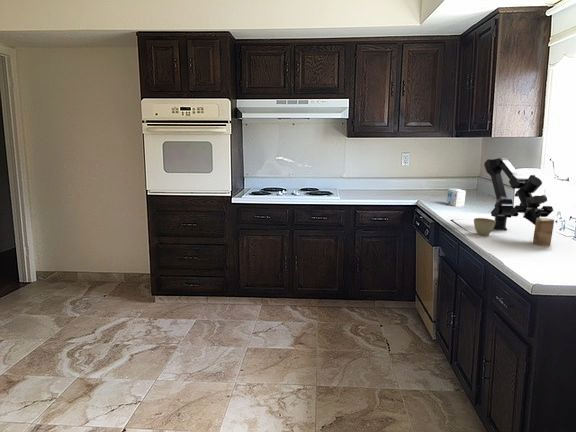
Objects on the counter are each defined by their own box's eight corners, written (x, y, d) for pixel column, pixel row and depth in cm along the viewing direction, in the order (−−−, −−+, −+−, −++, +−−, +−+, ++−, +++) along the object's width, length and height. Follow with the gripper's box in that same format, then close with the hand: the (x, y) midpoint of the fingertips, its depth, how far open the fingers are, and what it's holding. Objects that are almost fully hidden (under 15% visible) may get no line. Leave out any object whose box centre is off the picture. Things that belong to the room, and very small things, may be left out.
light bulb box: (446, 203, 324) (447, 188, 322) (454, 203, 326) (456, 188, 324) (455, 206, 314) (457, 190, 312) (464, 206, 316) (466, 190, 314)
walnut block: (532, 243, 218) (536, 217, 216) (544, 243, 219) (548, 218, 217) (538, 245, 214) (542, 219, 212) (550, 245, 215) (554, 219, 213)
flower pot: (467, 232, 236) (469, 218, 234) (483, 231, 239) (485, 217, 238) (482, 237, 226) (484, 222, 225) (498, 236, 230) (500, 221, 229)
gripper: (517, 188, 220) (529, 216, 211) (553, 189, 223) (567, 216, 214) (505, 202, 229) (516, 229, 220) (540, 203, 232) (552, 229, 223)
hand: (538, 226), depth 219 cm, fingers closed
